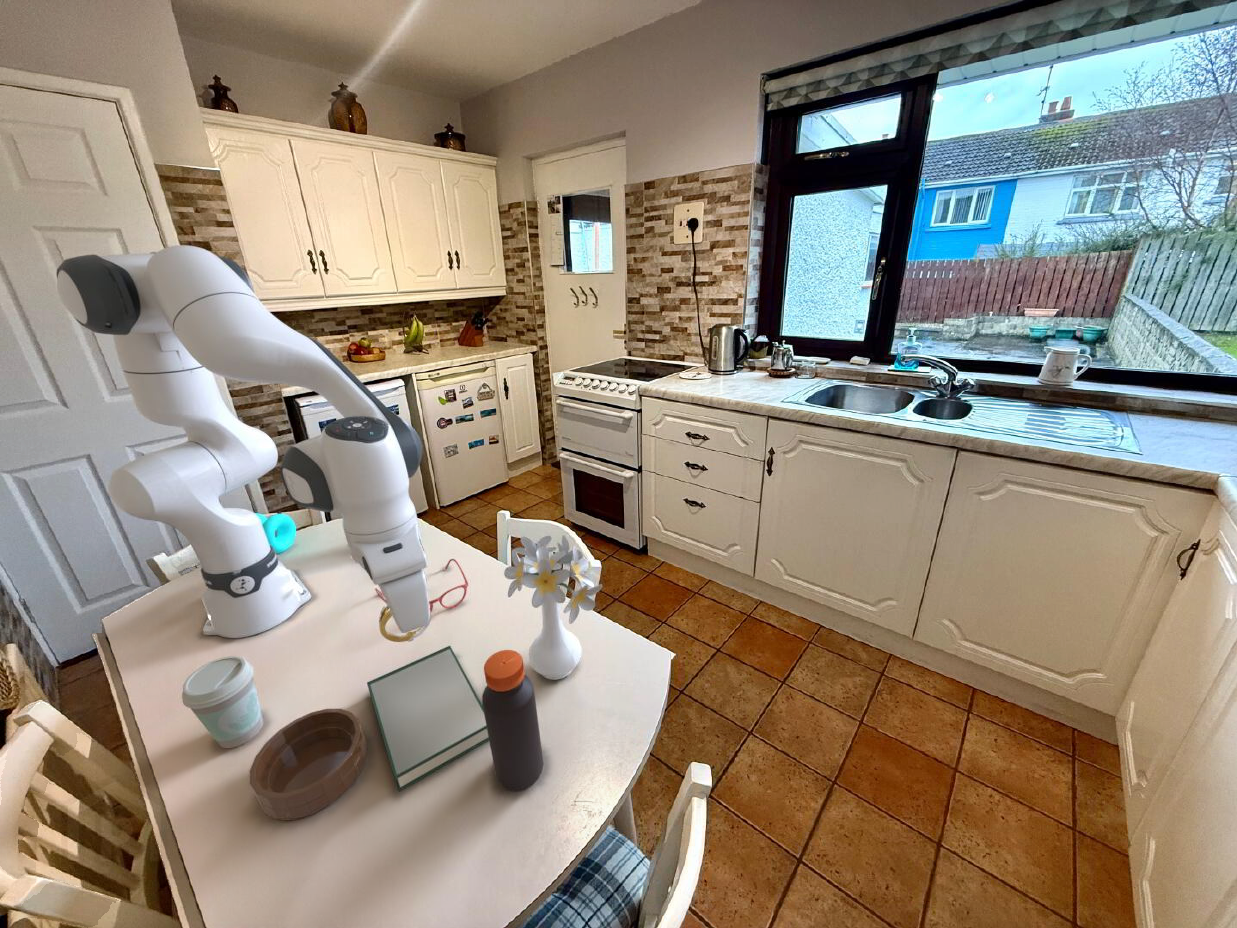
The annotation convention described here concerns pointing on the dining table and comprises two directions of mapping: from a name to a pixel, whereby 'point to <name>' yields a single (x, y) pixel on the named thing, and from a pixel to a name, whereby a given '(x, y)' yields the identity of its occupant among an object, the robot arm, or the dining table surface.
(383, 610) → the ring
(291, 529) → the cyan rounded piece
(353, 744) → the bowl
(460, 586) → the red eyeglasses
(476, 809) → the dining table surface
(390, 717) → the book
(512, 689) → the vinegar
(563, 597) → the flower vase
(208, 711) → the coffee cup
